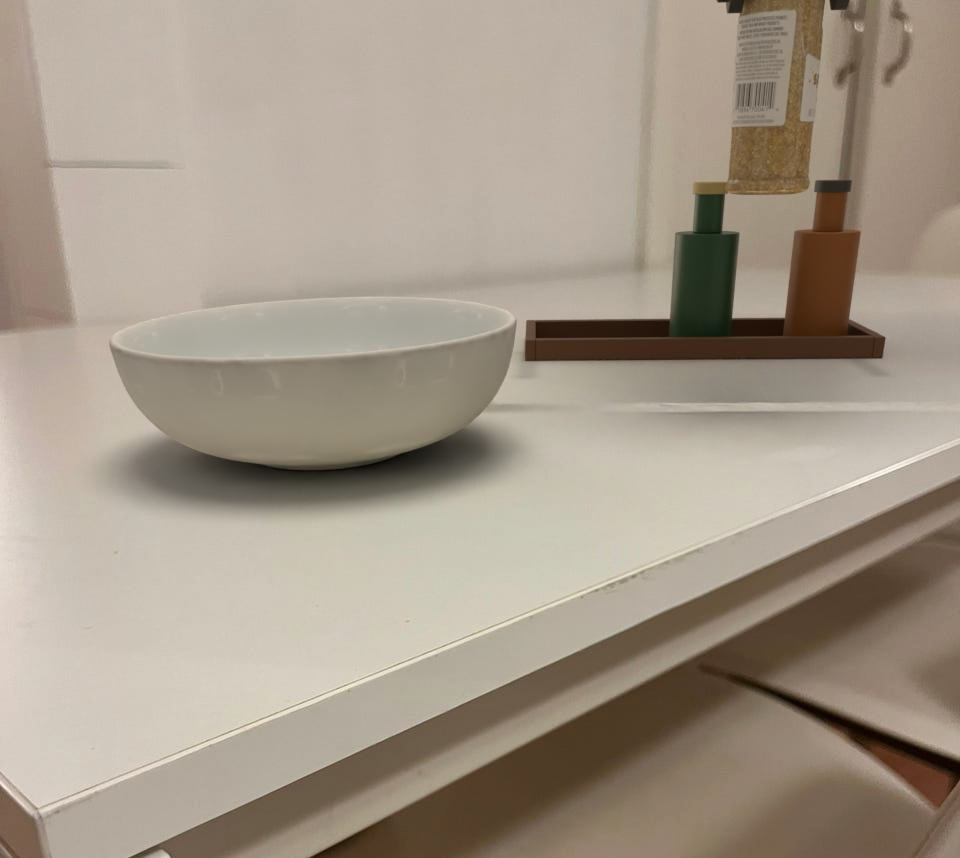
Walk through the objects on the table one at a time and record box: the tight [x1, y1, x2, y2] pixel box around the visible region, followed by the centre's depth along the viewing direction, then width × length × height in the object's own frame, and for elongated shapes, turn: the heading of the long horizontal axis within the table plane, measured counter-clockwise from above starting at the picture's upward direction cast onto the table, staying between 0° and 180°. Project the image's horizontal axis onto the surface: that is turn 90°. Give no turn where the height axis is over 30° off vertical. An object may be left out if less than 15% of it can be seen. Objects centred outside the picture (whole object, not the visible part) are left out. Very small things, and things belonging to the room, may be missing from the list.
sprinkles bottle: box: [726, 0, 826, 196], centre depth 53 cm, size 5×5×14 cm
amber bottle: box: [783, 179, 862, 336], centre depth 77 cm, size 5×5×12 cm
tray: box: [524, 317, 886, 362], centre depth 80 cm, size 27×11×2 cm, turn 87°
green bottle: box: [669, 181, 741, 337], centre depth 78 cm, size 5×5×12 cm
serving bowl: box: [108, 296, 518, 471], centre depth 54 cm, size 21×21×7 cm
